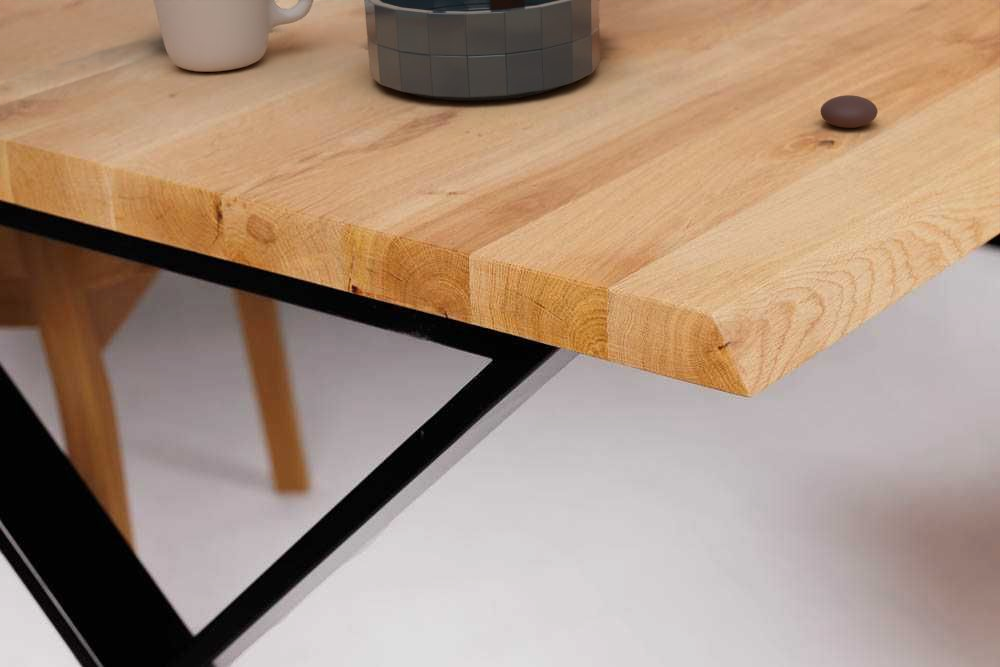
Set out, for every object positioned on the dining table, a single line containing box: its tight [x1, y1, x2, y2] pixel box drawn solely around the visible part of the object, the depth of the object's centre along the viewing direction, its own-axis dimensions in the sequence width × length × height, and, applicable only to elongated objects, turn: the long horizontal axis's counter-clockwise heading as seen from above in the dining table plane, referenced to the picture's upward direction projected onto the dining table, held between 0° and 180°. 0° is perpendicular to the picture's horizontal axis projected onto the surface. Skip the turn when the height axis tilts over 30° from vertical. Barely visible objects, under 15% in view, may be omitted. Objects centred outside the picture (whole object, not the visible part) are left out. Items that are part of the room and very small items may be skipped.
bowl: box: [363, 0, 601, 102], centre depth 89 cm, size 14×14×6 cm
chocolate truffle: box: [820, 94, 879, 129], centre depth 78 cm, size 3×3×2 cm
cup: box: [153, 0, 314, 73], centre depth 95 cm, size 11×8×8 cm
